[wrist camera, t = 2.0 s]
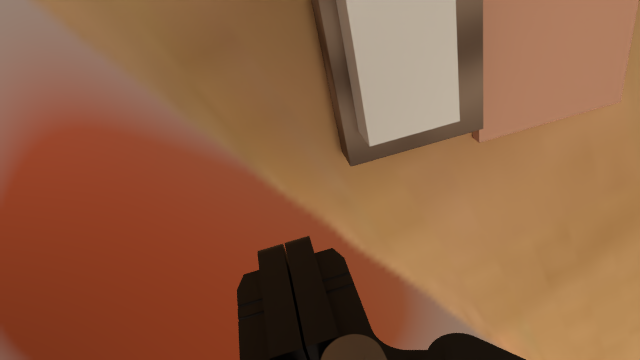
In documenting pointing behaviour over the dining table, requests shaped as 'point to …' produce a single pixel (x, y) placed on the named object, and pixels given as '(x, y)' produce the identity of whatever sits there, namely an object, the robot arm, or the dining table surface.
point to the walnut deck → (470, 121)
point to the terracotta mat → (551, 60)
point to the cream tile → (401, 65)
